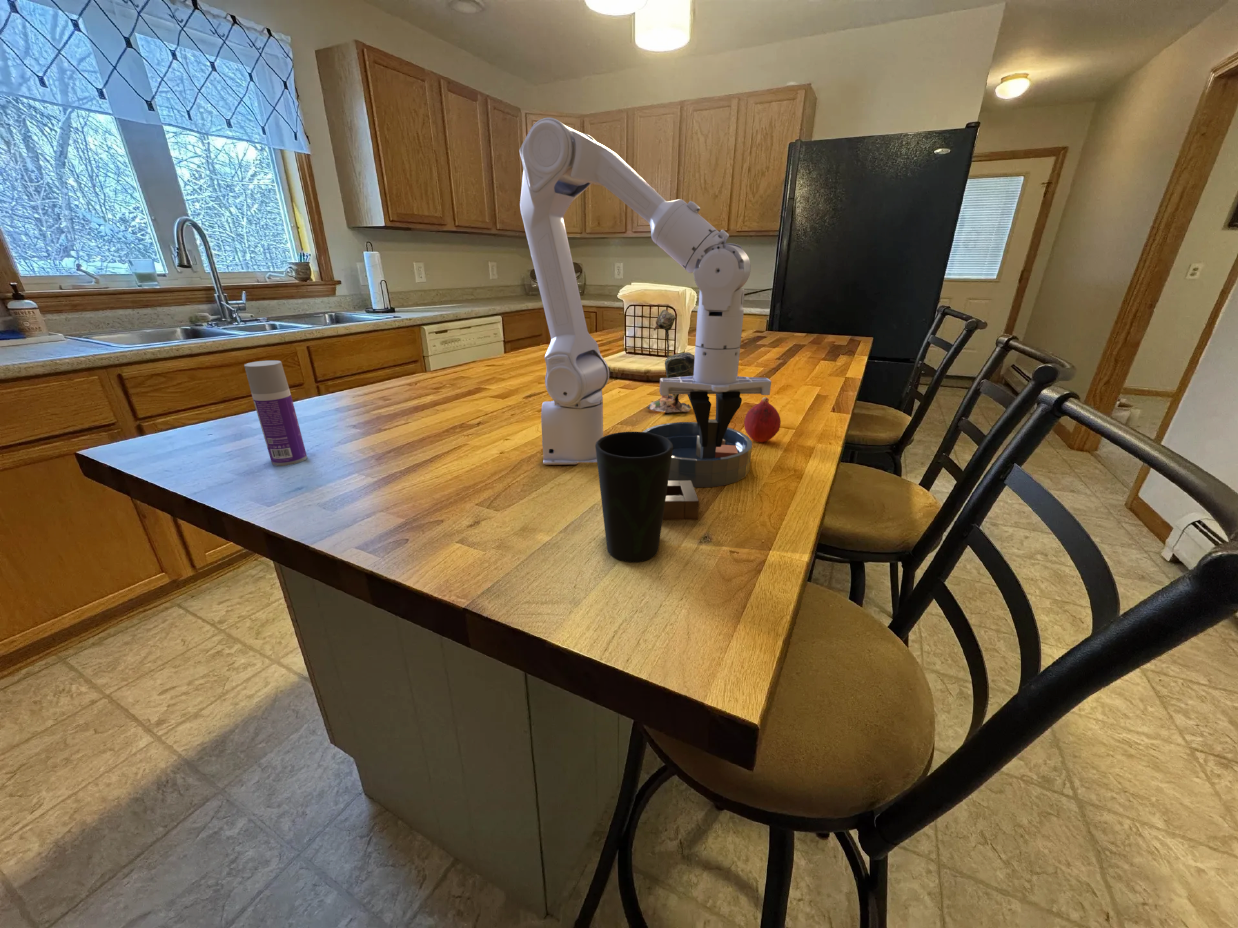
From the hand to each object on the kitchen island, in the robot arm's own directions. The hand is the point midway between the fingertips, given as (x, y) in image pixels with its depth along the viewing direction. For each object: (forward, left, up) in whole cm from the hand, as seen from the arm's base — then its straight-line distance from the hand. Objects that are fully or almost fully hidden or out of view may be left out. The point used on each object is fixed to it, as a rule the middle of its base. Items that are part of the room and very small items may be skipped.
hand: (710, 444), depth 69 cm
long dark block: (0, 0, -4) cm, 4 cm away
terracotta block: (+3, +1, -4) cm, 5 cm away
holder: (-7, -11, -5) cm, 13 cm away
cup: (-12, -19, -5) cm, 23 cm away
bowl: (-2, +3, -5) cm, 6 cm away
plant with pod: (-1, +33, -5) cm, 34 cm away
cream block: (+1, +6, -4) cm, 7 cm away
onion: (+11, +13, -5) cm, 18 cm away
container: (-64, +7, -5) cm, 64 cm away
